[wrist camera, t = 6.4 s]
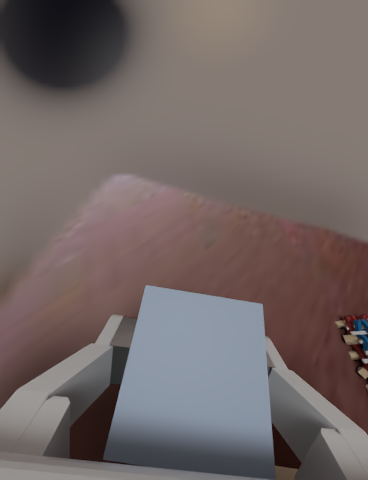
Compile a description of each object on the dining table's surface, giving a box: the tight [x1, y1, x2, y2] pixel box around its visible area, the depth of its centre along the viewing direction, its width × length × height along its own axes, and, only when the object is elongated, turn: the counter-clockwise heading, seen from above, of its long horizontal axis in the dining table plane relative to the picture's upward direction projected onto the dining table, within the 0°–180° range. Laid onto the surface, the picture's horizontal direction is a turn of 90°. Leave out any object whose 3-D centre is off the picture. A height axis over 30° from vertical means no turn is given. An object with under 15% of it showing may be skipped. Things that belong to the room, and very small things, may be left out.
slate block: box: [103, 285, 276, 480], centre depth 9 cm, size 4×4×9 cm
